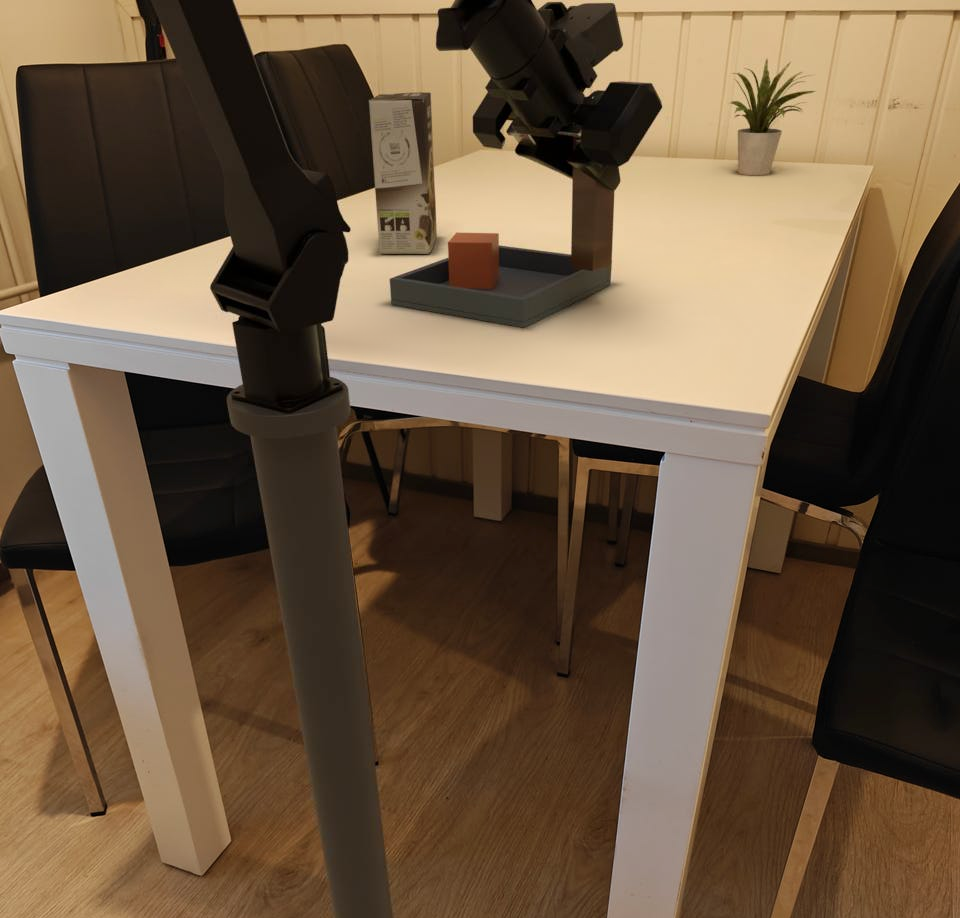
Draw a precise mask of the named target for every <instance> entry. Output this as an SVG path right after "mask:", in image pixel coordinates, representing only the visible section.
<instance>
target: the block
mask: <svg viewBox="0 0 960 918" xmlns="http://www.w3.org/2000/svg"><path fill="white" fill-rule="evenodd" d="M499 245H500V234H499V233H498V232H455V234H454V235H453V236H452V237H451V238H450V239H449V240H448V241H447V254H448V255H447V258H448V259H449V286H455V287H461V288H467V289H493V287H494V286H495V284H496V282H497V281H498V279H499Z"/></svg>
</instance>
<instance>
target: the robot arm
mask: <svg viewBox="0 0 960 918" xmlns="http://www.w3.org/2000/svg"><path fill="white" fill-rule="evenodd" d="M150 2H151V4H152V7H153V9H154V11H155V13H156V16H157V18H158V20H159V23H160V26H161V27H162V30H163V33H164V34H165V37H166V39H167V42H168V44H169V47H170V49H171V52H172V54H173V56H174V58H175V61H176V63H177V65H178V67H179V70H180V72H181V75H182V77H183V79H184V82H185V84H186V87H187V89H188V91H189V93H190V95H191V99H192V101H193V103H194V105H195V107H196V110H197V112H198V115H199V118H200V120H201V122H202V124H203V126H204V130H205V132H206V134H207V136H208V138H209V141H210V144H211V145H212V148H213V151H214V153H215V155H216V157H217V160H218V162H219V165H220V167H221V169H222V173H223V177H224V178H223V179H224V218H225V221H226V225H227V229H228V232H229V236H230V240H231V243H232V247H231V249H230V251H229V253H228V254H227V255H226V258H225V259H224V261H223V262H222V264H221V266H220V268H219V270H218V271H217V273H216V274H215V276H214V278H213V280H212V281H211V283H210V287H209V288H210V291H211V293H212V295H213V297H214V299H215V301H216V303H217V305H218V306H219V308H220V310H221V311H222V312H225V313H231V314H233V315H236V316H238V317H237V318H238V319H237V320H235V321H232V322H231V324H232V331H233V335H234V337H233V338H234V342H235V347H236V353H237V359H238V365H239V366H238V367H239V370H240V377H241V382H242V384H243V388H240V389H238V390H235V391H233V392H231V391H230V392H231V398H232V399H233V400H236V401H240V402H244V403H248V404H251V405H255V406H259V407H263V408H267V409H270V410H274V411H278V412H282V413H286V414H290V413H294V412H296V411H298V410H301V409H303V408H305V407H307V406H309V405H311V404H313V403H316V402H318V401H320V400H322V399H324V398H326V397H329V396H331V395H333V394H335V393H337V392H339V391H341V390H343V383H344V382H343V383H341V382H337V381H333V380H328V378H329V377H331V373H330V365H329V355H328V346H327V340H326V339H327V338H326V330H325V327H324V326H323V325H322V324H325V323H329V322H332V321H333V320H334V318H335V315H336V314H335V312H336V307H337V303H338V302H337V301H338V297H339V296H338V295H339V290H340V285H341V279H342V277H343V274H344V270H345V268H346V265H347V264H348V263H349V247H348V243H347V237H346V235H345V233H350V232H351V231H352V230H351V226H350V225H349V224H348V223H347V222H346V220H345V219H344V217H343V215H342V213H341V210H340V207H339V204H338V203H339V202H338V199H337V193H336V189H335V185H334V183H333V182H332V179H331V176H330V175H329V174H328V173H324V172H319V171H313V170H306V169H302V167H300V165H299V164H298V163H297V161H296V160H295V159H294V157H293V156H292V154H291V152H290V150H289V148H288V144H287V142H286V139H285V137H284V134H283V132H282V128H281V125H280V123H279V121H278V117H277V115H276V112H275V109H274V107H273V103H272V102H271V99H270V95H269V93H268V91H267V88H266V85H265V83H264V80H263V77H262V75H261V72H260V69H259V67H258V63H257V60H256V57H255V55H254V52H253V49H252V48H251V44H250V41H249V39H248V36H247V33H246V31H245V28H244V25H243V23H242V19H241V17H240V15H239V12H238V9H237V6H236V4H235V1H234V0H150ZM437 18H438V19H437V21H438V23H437V29H436V32H435V33H436V34H435V47H436V49H437V51H438V52H451V51H453V52H454V51H468V50H470V51H471V52H472V54H473V55H474V57H475V58H476V60H477V61H478V62H479V64H480V65H481V66H482V69H484V71H485V72H486V74H487V75H488V77H489V78H490V79H489V81H488V82H487V83H486V85H485V87H484V89H485V90H486V91H487V93H486V94H485V96H484V97H483V99H482V100H481V102H480V104H479V105H478V107H477V109H475V112H474V113H473V115H472V133H473V135H474V136H475V137H476V139H477V140H478V142H480V144H481V145H482V147H483V148H490V149H497V150H502V149H503V148H504V147H505V144H506V140H507V139H506V137H505V136H504V134H503V132H502V131H501V130H502V128H503V127H504V125H505V124H506V123H507V121H511V122H510V124H509V126H508V127H507V129H506V130H505V131H506V134H507V135H508V136H511V137H513V138H514V139H515V141H516V142H517V145H516V146H515V149H514V153H515V154H516V155H517V156H518V157H521V158H522V157H523V158H525V159H528V160H530V161H531V162H533V163H537V164H538V165H541V166H543V167H545V168H548V169H550V170H552V171H554V172H556V173H558V174H560V175H563V176H565V177H567V178H569V179H571V180H573V166H574V167H576V168H577V169H579V170H580V171H582V172H583V173H585V174H586V175H588V176H589V177H591V178H592V179H594V180H596V181H597V182H599V183H600V184H602V185H603V186H605V187H607V188H608V189H610V190H613V191H616V190H617V189H618V187H619V185H620V184H621V182H622V181H621V180H622V179H621V173H620V168H619V167H621V166H623V165H625V164H626V163H628V162H629V161H630V159H631V158H632V156H633V155H634V153H635V152H636V150H637V148H639V145H640V144H641V142H642V141H643V139H644V138H645V136H646V134H647V132H648V131H649V130H650V128H651V126H653V125H652V124H653V123H654V122H655V120H656V118H657V117H658V115H659V114H660V112H661V110H662V109H663V104H662V99H661V98H660V95H659V93H658V92H657V90H656V88H655V87H654V85H653V83H652V82H640V81H638V82H637V81H625V80H622V81H611V82H609V83H608V85H607V86H606V88H605V90H599V89H598V90H595V91H594V90H593V92H591V93H590V94H589V95H587V96H586V95H585V93H584V92H585V90H586V89H591V88H592V86H593V84H594V83H595V81H596V80H597V78H598V74H597V72H596V70H595V69H594V68H595V67H596V66H598V65H599V64H600V63H602V62H603V61H604V60H606V58H607V57H609V56H610V55H611V54H613V53H614V52H616V53H617V52H619V51H620V50H621V49H622V48H623V46H624V40H623V36H622V31H621V27H620V21H619V16H618V13H617V8H616V3H613V2H586V3H581V4H578V5H570V6H568V8H567V6H566V5H565V3H563V1H548V2H546V3H544V4H543V5H542V6H541V7H539V8H537V7H536V5H535V4H534V2H533V0H454V1H453V3H452V4H451V6H450V7H441V8H440V7H439V9H437ZM573 136H577V138H576V141H577V145H576V147H575V148H574V150H573Z"/></svg>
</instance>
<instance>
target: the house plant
mask: <svg viewBox="0 0 960 918" xmlns="http://www.w3.org/2000/svg"><path fill="white" fill-rule="evenodd" d="M791 63H792V61H790V62H788V63H787V64H786V65H785V66H784V67H783V68H782V69H781V70H780V71H779V73H778V74H777V75H775V76H774V77H773V79H772V81H771V78H770V71H769V69H768V68H769V59H768V58H766V59H765V61H764V66H763V71H762V77H761V80H760V84H759V80H758V78H757V75H756V74H755V72H754V71H753V70H752V69H750V68H746V67H744V68H743V70H747V71H749V72H751V74H752V75H753V78H754V80H755V84H756V89H757V90H756V91H757V94H756V95H755V92H754V89H753V86H752V84H751V82H750V81H749V79H748V78H747V76H745V75H744V74H742V73H740V72H732V74H733V75H737V76H738V77H739V78H740V79H741V81H742V83H743V84H744V87H745V88H746V91H747V93H748V97H749V99H748V97H747V95H746V92H745V91H744V89H743V88H742V86H741V84H740V82H739V81H738V80H737V79H735V82H736V83H737V84H738V87H740V90H741V91H742V93H743V95H744V96H745V100H746V101H747V104H748V107H747V106H746V105H745V104H743V103H742V102H741V101H739V100H734V101H733V100H732V101H731V102H729V104H731V105H734V106H736V108H735V111H734V114H735V116H734V118H733V119H735V118H737V117H739V116H742V117H744V118H745V120H746V122H747V124H748V125H749V127H747V128H740V129H737V173H738V174H739V175H744V176H745V175H746V176H765V175H769V174H770V173H771V170H772V166H773V163H774V159H775V156H776V153H777V150H778V146H779V143H780V140H781V136H782V131H783V130H781V129H777V128H770V127H771V124H772V123H773V122H774V121H775V120H776V119H777V118H778V117H779V116H780V115H781V116H782V117H783V119H785V114H786V113H787V112H791V111H795V112H799V113H802V115H804V112H803V110H802V108H800V107H799V106H798V105H799V104H805V103H808V101H807V102H797V103H795V104H794V105H786V106H783V105H784V104H786V103H787V102H789V101H791V100H794V99H796V98H799V97H801V96H803V95H807V94H808V95H809V94H812V93H815V92H816V90H804V91H803V90H802V91H796V92H792V93H789V94H786V92H788V90H789V89H790V88H791V87H793V86H794V85H796V84H798V83H806V80H805V81H804V80H803V81H797V80H799V79H802V78H805V77H810V76H812V74H809V75H804V76H801V77H798V76H799V75H801V74H802V73H803V71H800V72H798V73H796V74H794V75H793V76H791V77H790V78H788V79H787V80H786V81H785V82H784V84H782V85H781V87H780V88H779V89H778V90H777V92H775V90H776V89H777V85H778V83H779V81H780V79H781V78H782V76H783V75H785V71H786V70H787V69H788V67H789V66H790V64H791ZM814 75H816V74H814ZM796 77H798V78H796ZM795 81H796V82H795ZM793 82H794V83H793ZM792 83H793V84H792ZM791 84H792V85H791ZM786 89H787V90H786ZM774 93H775V94H774ZM773 94H774V96H773ZM784 94H786V95H784ZM781 95H782V96H781ZM756 98H757V99H756ZM782 106H783V107H782ZM786 108H788V109H786ZM742 111H743V112H744V114H736V113H738V112H742Z"/></svg>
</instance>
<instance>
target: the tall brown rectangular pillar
mask: <svg viewBox="0 0 960 918" xmlns="http://www.w3.org/2000/svg"><path fill="white" fill-rule="evenodd" d="M576 138H577V136H573V150H574V148H575V147H576V145H577V141H576ZM571 191H572V192H571V240H570V241H571V242H570V243H571V246H570V250H571V251H570V254H571V268H575V269H582V270H589V271H595V270H599V269H603V268H608V267H611V266H612V267H613V241H614V240H613V238H614V237H613V236H614V215H615V214H614V213H615V191H616V190H615V191H613V190H610V189H608V188H607V187H605V186H603V185H602V184H600V183H599V182H597V181H596V180H594V179H592V178H591V177H589V176H588V175H586V174H585V173H583V172H582V171H580V170H579V169H577V168H576V167H574V166H573V179H572V188H571Z"/></svg>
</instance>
